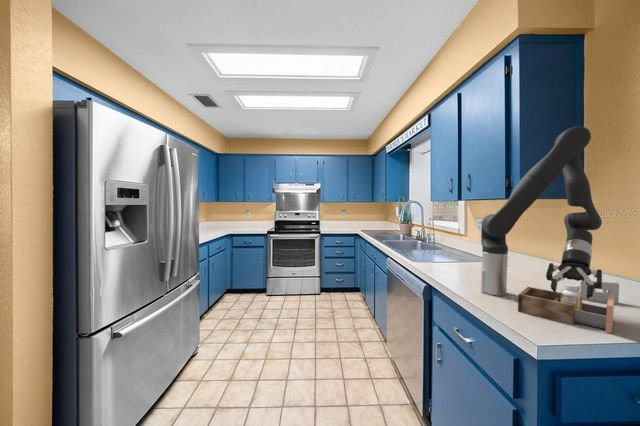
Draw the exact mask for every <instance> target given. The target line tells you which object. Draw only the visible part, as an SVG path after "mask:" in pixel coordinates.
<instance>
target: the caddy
mask: <svg viewBox="0 0 640 426" xmlns="http://www.w3.org/2000/svg"><path fill="white" fill-rule="evenodd" d="M556 298H560V299H561V292H557V291H556V292H554V291H553V290H547V289H542V288H538V287H531V286H527V287H526V288H524V289H523V290H521V292H520V293H518V299H517V312H520V313H525V314H527V315H532V316H536V317H541V318H543V319H549V320H552V321H557V322H560V323H566V324H569V325H574V321H573V317H574V305H572V304H567V303H562V302H558V301H554V300H555V299H556Z"/></svg>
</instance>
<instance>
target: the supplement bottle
mask: <svg viewBox="0 0 640 426" xmlns="http://www.w3.org/2000/svg"><path fill="white" fill-rule="evenodd" d="M563 288H564V289H562V290H561V291H560V293H561V302H562V303H567V304H572V305H574V309H576V310H581V311H582V303H583V300H582V293H581V292H580V284H575V283H572V282H571V283H570V282H565V283H564V284H563Z"/></svg>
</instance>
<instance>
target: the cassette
mask: <svg viewBox="0 0 640 426" xmlns="http://www.w3.org/2000/svg"><path fill="white" fill-rule="evenodd" d="M591 281H592V282H593V283H597V280H591ZM579 286H580V290H579V292H581V293H582V301H588V302H589V301H590V302H601V303H608V298H609V295H614V304H618V303H619V297H620V283H618V282H612V281H611V282H609V281H602V288H601V289H600V290H602V291H596V290H599V289H598V288H595V289H594V291H593V296H592V297H590V298H587V287H588V286H587V285H586V284H584V282H583V281H582V280H579Z"/></svg>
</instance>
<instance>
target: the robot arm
mask: <svg viewBox="0 0 640 426" xmlns="http://www.w3.org/2000/svg"><path fill="white" fill-rule="evenodd" d="M591 139H592V135H591V131H590V130H589V129H588V128H587V127H584V126H578V125H576V126H572V127H569V128H567V129H565V130H564V131H562V132H561V133H560V134H559V135H558V136H557V137H556V138H555V139H554V146H553V147H552V148H551V149H550V151H549V152H548V153H547V154H546V155H545V156H544V157H543V158H542V159H540V160H539V161H538V162H537V163H536V164H535V165H534V166H532V167H531V168H530V170H528V171H527V172H526V173H525V174H524V175H523V176H522V178H521V179H519V181H518V182H517V184H515V186H514V188H513V190H512V191H511V194H510V196H509V197H508V200H507V201H506V202H505V203H504V204H503V206H502V207H501V208H500V209H499V210H497V212H495V213H493V214H491V213H490V214H488V215H487V216H485V217H484V218H483V219H482V222H481V229H480V230H481V236H480V237H481V240H480V241H481V247H482V250H481V251H482V253H481V269H480V270H481V273H480V276H481V277H480V293H484V294H488V295H493V296H500V297H501V296H506V295H507V283H508V261H509V260H508V259H509V258H508V257H509V256H508V255H509V247H508V245H507V240H506V239H507V237H506V236H507V235H508V234H509V233H510V231H511V230H512V229H513V228H514V226H515V225H516V223H517V222H518V221H519V220H520V218H521V217H522V215H523V214H524V213H525V212H526V211H527V210H528V209H530V207H531V206H532V205H533V204H534V203H535V202H536V200H538V199H539V198H540V197H541V196H542V195H543V194H544V192H545V191H546V190H547V189H548V188H549V187H550V186H551V184H553V182H554V181H555V179H556V178H557V177H558V176H559V175H560V174H561V173H562V174H563V175H562V176H563V178H564V186H565V193H566V200H567V205H568V206H569V207H577V208H582V209H583V210H585V211H581V212H579V211H578V212H569V213H567V214H566V215H565V216H564V218H563V223H564V226H565V228H566V229H565V230H566V241H565V244H564V247H563V250H562V251H563V252H562V257H561V263H560V265H556V264H555V265H554V263H553V262H550V263H549V265H548V267H547V269H546V274H545V276H546V280H547V281H551V283H550V289H551V291H553V292H557V287H558V282H560V281H564V280H566V279H567V280H573V281H578V282H580V280H582V281H583V282H584V284H586V285H587V286H588V287H587V298H590V297H592V296H593V291H594V289H595V288H598V289H597V290H602V289H601V288H602V282H603V271H602V269H596V270H592V269H590V268H591V261H592V260H591V259H592V257H593V255H592V245H593V244H592V243H593V238H594V237H593V233H592V232H590V231H597V230H599V229H600V228H601V226H602V223H603V222H602V218H601V216H600V214H599V212H598V211H597V209H596V207H595V204H594V202H593V198H592V192H591V185H590V181H589V178H588V177H587V174H586V172H585V171H584V168H583V165H582V161H581V155H582V154H581V153H582V152H581V151H582V150H583V149H585V148H586V147H587V146H588V145H589V144H590V142H591ZM557 270H558V272H557V273H556V274H555V275H553V274H554V272H556V271H557ZM591 275H592V276H593V277H594V278H596V281H597V283H593V282H592V281H593V280H592V279H591V278H590V277H589V276H591ZM595 290H596V289H595Z"/></svg>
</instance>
